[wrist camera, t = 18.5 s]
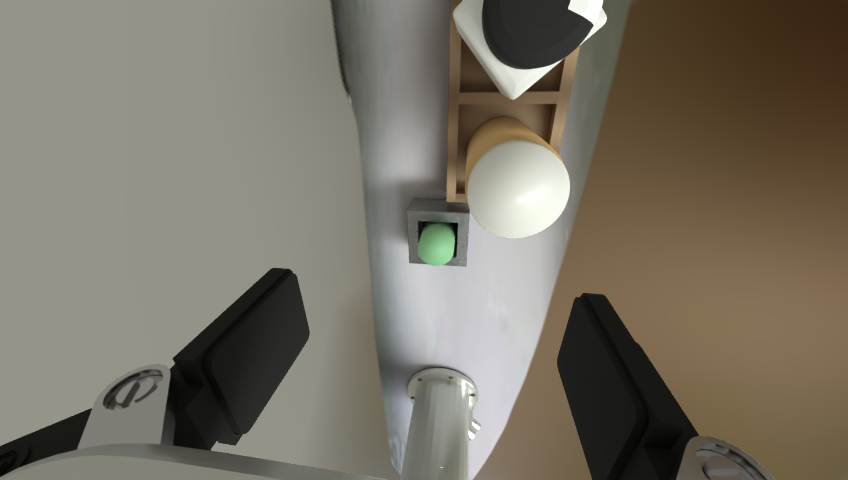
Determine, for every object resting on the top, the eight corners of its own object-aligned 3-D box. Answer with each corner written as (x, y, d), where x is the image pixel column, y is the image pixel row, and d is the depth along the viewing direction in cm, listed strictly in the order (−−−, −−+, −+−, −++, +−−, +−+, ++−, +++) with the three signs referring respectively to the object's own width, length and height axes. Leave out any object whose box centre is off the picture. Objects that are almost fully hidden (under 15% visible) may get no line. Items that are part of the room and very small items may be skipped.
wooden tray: (542, 195, 35) (548, 205, 32) (448, 192, 36) (446, 201, 33) (586, -45, 25) (600, -60, 22) (453, -36, 26) (451, -49, 23)
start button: (454, 249, 37) (453, 266, 33) (422, 247, 37) (417, 264, 34) (456, 219, 35) (454, 235, 31) (422, 218, 35) (416, 233, 32)
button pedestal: (466, 249, 39) (466, 266, 36) (414, 247, 40) (409, 263, 37) (469, 200, 36) (469, 213, 33) (413, 198, 37) (406, 210, 34)
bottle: (548, 151, 31) (595, 197, 19) (495, 195, 34) (508, 257, 22) (505, 100, 29) (528, 114, 18) (453, 150, 32) (443, 192, 21)
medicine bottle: (503, 96, 28) (522, 108, 17) (455, 28, 26) (444, -6, 15) (576, 34, 25) (652, 2, 14) (528, -49, 23) (575, -156, 12)
